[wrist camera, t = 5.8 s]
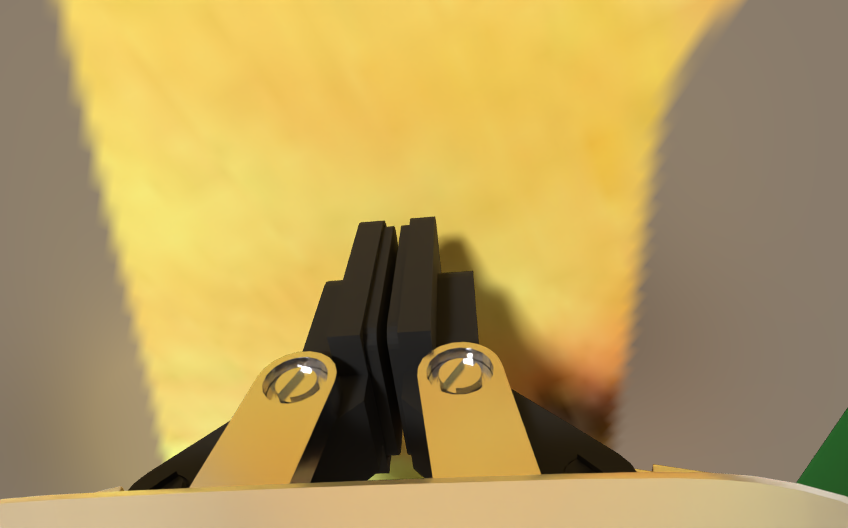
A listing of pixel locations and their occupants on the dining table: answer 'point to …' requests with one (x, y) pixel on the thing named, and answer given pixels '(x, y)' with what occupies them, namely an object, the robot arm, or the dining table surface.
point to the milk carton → (830, 462)
